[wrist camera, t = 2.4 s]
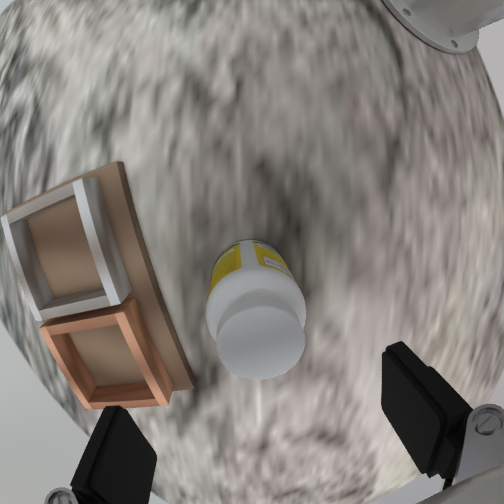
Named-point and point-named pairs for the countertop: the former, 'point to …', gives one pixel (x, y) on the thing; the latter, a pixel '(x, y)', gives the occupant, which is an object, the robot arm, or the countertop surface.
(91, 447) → the robot arm
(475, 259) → the countertop surface
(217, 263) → the supplement bottle
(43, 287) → the board
